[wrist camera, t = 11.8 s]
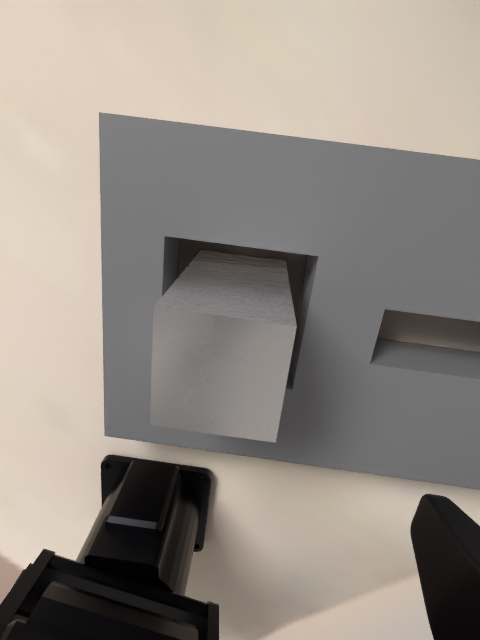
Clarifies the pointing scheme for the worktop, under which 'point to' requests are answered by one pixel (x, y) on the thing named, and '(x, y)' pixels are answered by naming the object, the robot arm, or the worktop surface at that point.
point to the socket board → (304, 287)
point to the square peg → (223, 347)
